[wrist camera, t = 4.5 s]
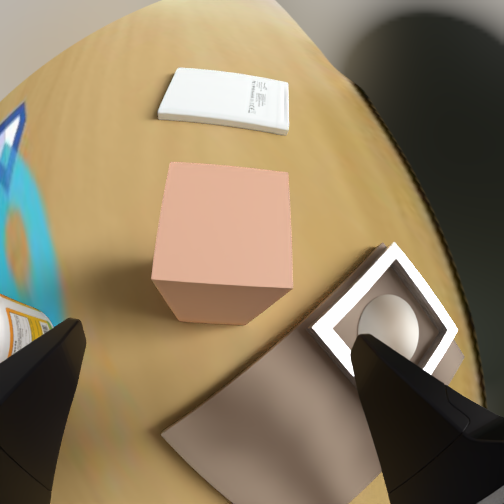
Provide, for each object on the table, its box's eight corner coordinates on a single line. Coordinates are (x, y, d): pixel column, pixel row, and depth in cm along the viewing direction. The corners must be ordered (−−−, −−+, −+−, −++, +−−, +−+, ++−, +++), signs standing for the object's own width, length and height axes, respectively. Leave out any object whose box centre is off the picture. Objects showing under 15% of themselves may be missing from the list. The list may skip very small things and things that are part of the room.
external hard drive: (178, 76, 28) (285, 90, 30) (158, 123, 25) (285, 139, 27) (178, 66, 27) (288, 80, 28) (157, 111, 24) (289, 128, 25)
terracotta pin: (245, 325, 19) (293, 288, 9) (179, 321, 19) (151, 279, 9) (246, 262, 21) (288, 172, 11) (184, 258, 20) (170, 161, 10)
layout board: (289, 539, 13) (298, 552, 11) (162, 430, 16) (157, 439, 14) (457, 357, 21) (473, 355, 19) (376, 246, 23) (390, 236, 21)
